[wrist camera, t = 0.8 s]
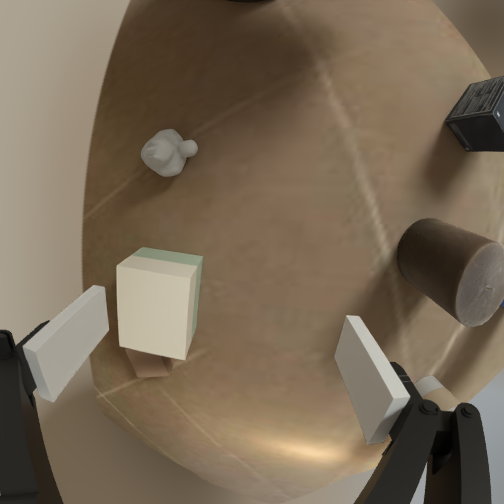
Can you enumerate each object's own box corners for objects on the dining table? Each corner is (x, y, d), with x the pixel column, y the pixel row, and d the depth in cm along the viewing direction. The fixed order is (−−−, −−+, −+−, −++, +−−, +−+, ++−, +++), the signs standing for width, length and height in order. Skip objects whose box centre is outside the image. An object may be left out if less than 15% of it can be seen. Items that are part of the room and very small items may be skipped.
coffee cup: (393, 409, 44) (423, 467, 29) (413, 372, 41) (453, 429, 27) (428, 405, 44) (460, 455, 30) (448, 369, 42) (488, 418, 27)
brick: (134, 334, 39) (124, 348, 35) (164, 331, 39) (156, 346, 35) (145, 361, 40) (137, 377, 37) (175, 359, 40) (169, 375, 36)
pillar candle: (387, 239, 35) (454, 279, 21) (439, 205, 34) (514, 227, 20) (408, 296, 38) (466, 350, 23) (456, 262, 36) (521, 300, 22)
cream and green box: (142, 246, 36) (116, 265, 28) (203, 256, 36) (190, 278, 28) (140, 316, 38) (119, 345, 30) (196, 326, 38) (184, 360, 31)
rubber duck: (147, 137, 32) (120, 129, 24) (199, 127, 32) (184, 114, 24) (152, 180, 34) (126, 182, 26) (204, 171, 33) (191, 169, 26)
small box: (467, 155, 32) (516, 155, 22) (443, 121, 31) (491, 112, 21) (491, 115, 30) (536, 109, 20) (469, 82, 29) (513, 70, 19)
